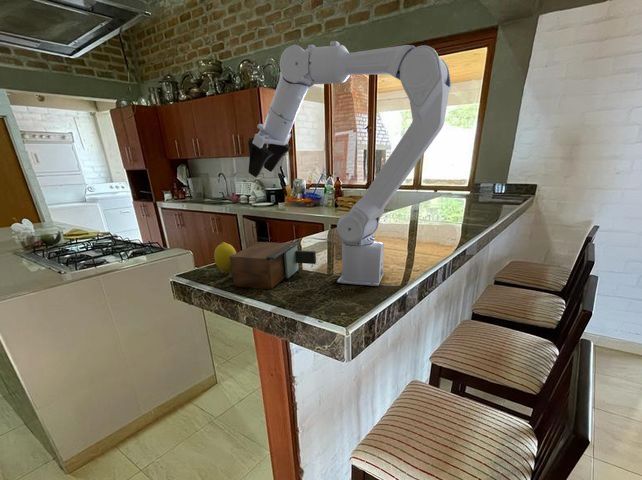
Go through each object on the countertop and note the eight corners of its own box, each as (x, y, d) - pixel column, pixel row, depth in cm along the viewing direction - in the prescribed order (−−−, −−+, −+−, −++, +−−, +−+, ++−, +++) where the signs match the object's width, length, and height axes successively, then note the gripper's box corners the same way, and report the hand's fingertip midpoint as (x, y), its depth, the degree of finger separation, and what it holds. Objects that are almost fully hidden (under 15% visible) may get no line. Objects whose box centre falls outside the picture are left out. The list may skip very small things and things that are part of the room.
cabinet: (300, 270, 86) (298, 242, 82) (277, 290, 74) (274, 257, 70) (262, 268, 89) (259, 240, 85) (234, 286, 77) (229, 254, 73)
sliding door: (317, 270, 84) (316, 245, 81) (307, 280, 78) (306, 253, 75) (296, 269, 86) (295, 244, 83) (285, 278, 80) (283, 251, 77)
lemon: (242, 269, 88) (238, 239, 84) (235, 276, 83) (230, 244, 79) (222, 269, 88) (216, 239, 85) (213, 276, 83) (208, 244, 80)
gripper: (281, 103, 77) (260, 158, 85) (249, 103, 65) (229, 167, 74) (306, 120, 77) (283, 174, 85) (279, 123, 66) (256, 185, 74)
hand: (260, 172), depth 80 cm, fingers open, 7 cm apart
